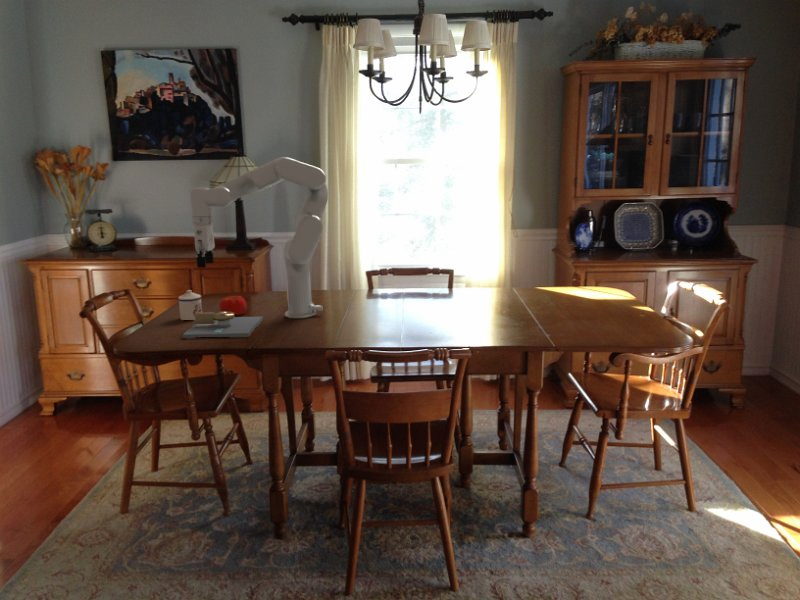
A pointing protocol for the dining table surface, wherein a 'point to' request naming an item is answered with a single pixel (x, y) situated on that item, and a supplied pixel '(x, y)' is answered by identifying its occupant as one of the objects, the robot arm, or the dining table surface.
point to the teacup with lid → (189, 305)
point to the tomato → (233, 305)
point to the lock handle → (212, 317)
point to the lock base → (225, 328)
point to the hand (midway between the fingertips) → (205, 265)
